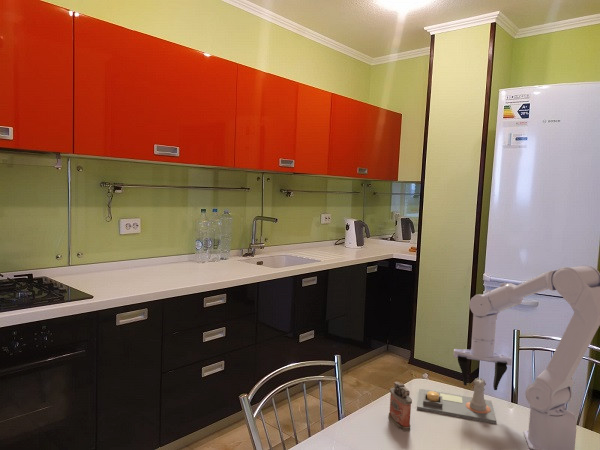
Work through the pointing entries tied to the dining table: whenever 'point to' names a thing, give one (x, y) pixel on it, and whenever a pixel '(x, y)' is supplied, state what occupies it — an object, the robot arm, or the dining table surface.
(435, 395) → the button
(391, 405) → the lighter
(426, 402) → the grey board
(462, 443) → the dining table surface
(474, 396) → the rook chess piece
